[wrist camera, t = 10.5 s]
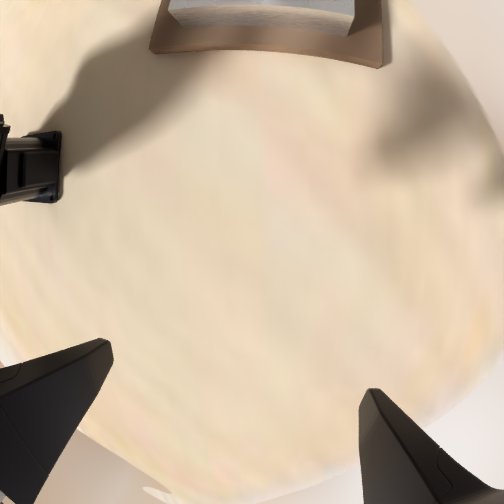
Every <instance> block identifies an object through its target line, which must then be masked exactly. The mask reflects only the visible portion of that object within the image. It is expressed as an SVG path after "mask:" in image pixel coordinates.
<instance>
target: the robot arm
mask: <svg viewBox="0 0 504 504" xmlns="http://www.w3.org/2000/svg"><path fill="white" fill-rule="evenodd" d="M4 122H5V121H4V117H3V114H0V206H2V205H6V204H11V203H15V202H19V201H28V202H41V203H56V202H57V200H58V174H59V156H60V143H61V132H60V131H51V132H45V133H39V134H33V135H28V136H23V137H21V138H7V136H8V133H9V131H10V127H11V126H9V125H6V124H4ZM56 135H57V136H56ZM113 361H114V358H113V352H112V347H111V343H110V341H108V340H106V339H103V338H98V339H95V340H92V341H89V342H86V343H83V344H80V345H77V346H73V347H70V348H67V349H64V350H61V351H58V352H55V353H52V354H48V355H45V356H42V357H39V358H35V359H32V360H29V361H26V362H23V363H19V364H16V365H12V366H8V367H5V368H0V504H3V503H2V500H3V499H4V497H5V496H7V497H8V498H9V499H11V500H12V501H13V502H14V503H15V504H33V503H34V502H35V500H36V498H37V495H38V494H39V492H40V490H41V488H42V487H43V485H44V483H45V481H46V479H47V478H48V476H49V475H48V474H50V472H51V470H52V469H53V467H54V465H55V463H56V462H57V460H58V458H59V456H60V455H61V453H62V451H63V450H64V448H65V446H66V445H67V443H68V441H69V440H70V438H71V436H72V435H73V433H74V431H75V430H76V428H77V427H78V425H79V423H80V422H81V420H82V418H83V417H84V415H85V414H86V412H87V411H88V409H89V407H90V406H91V404H92V403H93V401H94V400H95V398H96V396H97V395H98V393H99V391H100V389H101V387H102V385H103V383H104V381H105V379H106V377H107V375H108V373H109V371H110V369H111V367H112V365H113ZM359 455H360V464H361V474H362V485H363V498H364V504H504V490H499V489H495V488H492V487H490V486H488V485H487V484H485V483H484V482H482V481H481V480H480V479H478V478H477V477H476V476H474V475H473V474H472V473H470V472H469V471H467V470H466V469H465V468H464V467H462V466H461V465H460V464H459V463H457V462H456V461H455V460H454V459H453V458H452V457H450V455H448V454H447V453H446V452H445V451H444V450H443V449H442V448H440V446H439V445H438V444H437V443H436V442H435V441H434V440H432V439H431V438H430V437H429V436H428V435H427V434H426V433H425V432H424V431H423V430H422V429H421V428H420V427H419V426H418V425H417V424H416V423H415V422H414V421H413V420H412V419H411V418H410V417H409V416H408V415H406V414H405V413H404V412H403V411H402V410H401V409H400V408H399V407H398V406H397V405H396V404H395V403H394V402H393V401H392V400H391V399H390V398H389V397H388V396H387V395H386V394H385V393H384V392H383V391H382V390H381V389H378V388H369V389H368V390H367V391H366V393H365V395H364V397H363V399H362V401H361V403H360V406H359Z"/></svg>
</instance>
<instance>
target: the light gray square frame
mask: <svg viewBox="0 0 504 504" xmlns="http://www.w3.org/2000/svg"><path fill="white" fill-rule="evenodd" d="M168 11H169V12H170V13H171V14H172V16H173V17H174V18H175V19H176V20H177V21H178V22H179V23H180V25H181V26H182V27H183V28H195V27H211V26H264V27H280V28H291V29H301V30H309V31H316V32H323V33H329V34H335V35H340V36H345V37H346V36H347V34H348V31H349V29H350V26H351V24H352V21H353V19H354V16H355V10H354V0H170V4H169V7H168Z"/></svg>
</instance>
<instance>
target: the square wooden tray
mask: <svg viewBox="0 0 504 504" xmlns="http://www.w3.org/2000/svg"><path fill="white" fill-rule="evenodd" d="M169 4H170V0H162V1H161V4H160V7H159V11H158V14H157V18H156V22H155V25H154V29H153V33H152V37H151V42H150V46H149V50H151V51H152V52H153V53H155V54H162V53H171V52H183V51H200V50H255V51H272V52H284V53H294V54H302V55H310V56H317V57H323V58H329V59H335V60H340V61H345V62H350V63H355V64H359V65H364V66H368V67H372V68H376V69H378V68H379V67H380V66H381V65H382V63H383V43H382V14H381V0H354V10H355V16H354V19H353V21H352V24H351V26H350V29H349V31H348V34H347V36H346V37H345V36H340V35H335V34H329V33H323V32H316V31H309V30H301V29H291V28H280V27H264V26H211V27H195V28H183V27H182V26H181V25H180V23H179V22H178V21H177V20H176V19H175V18H174V17H173V16H172V14H171V13H170V12H169V11H168V7H169Z"/></svg>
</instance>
